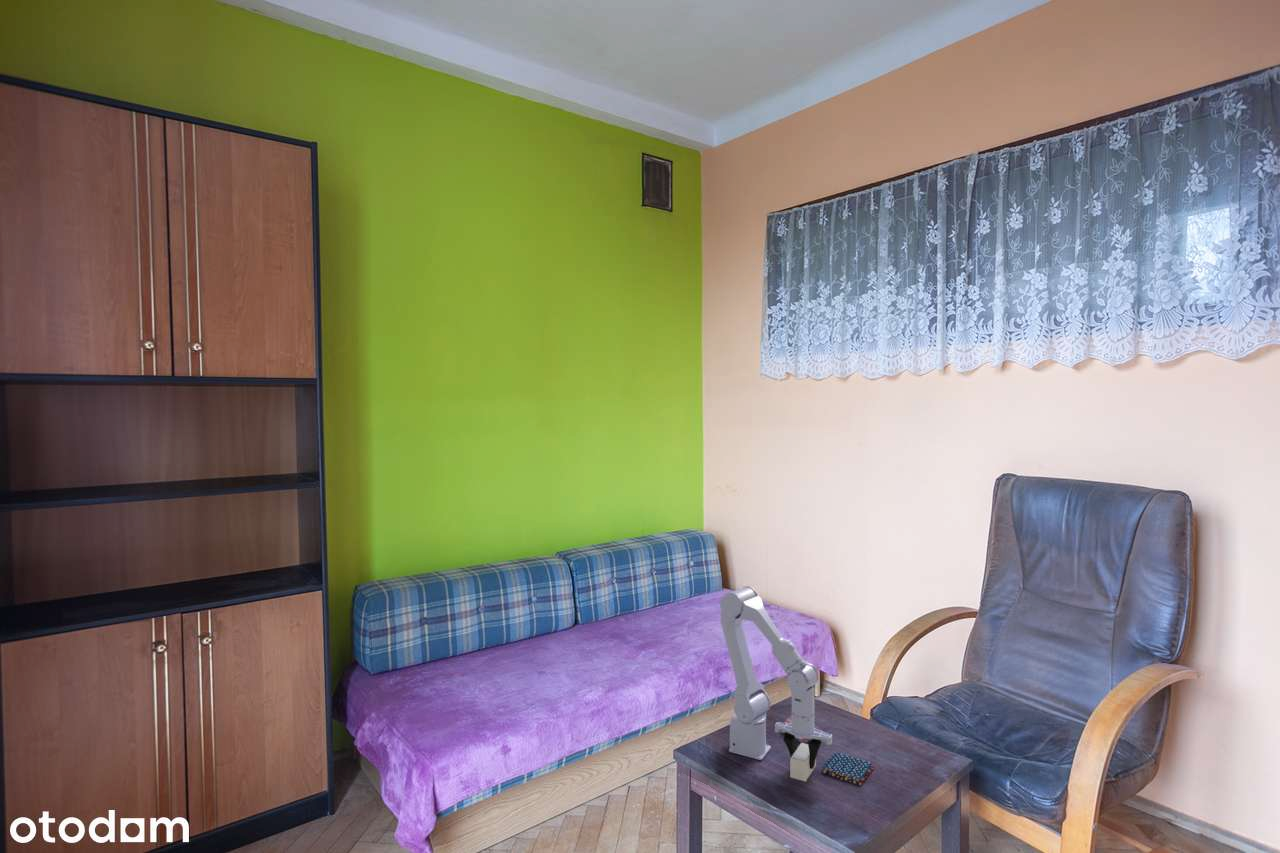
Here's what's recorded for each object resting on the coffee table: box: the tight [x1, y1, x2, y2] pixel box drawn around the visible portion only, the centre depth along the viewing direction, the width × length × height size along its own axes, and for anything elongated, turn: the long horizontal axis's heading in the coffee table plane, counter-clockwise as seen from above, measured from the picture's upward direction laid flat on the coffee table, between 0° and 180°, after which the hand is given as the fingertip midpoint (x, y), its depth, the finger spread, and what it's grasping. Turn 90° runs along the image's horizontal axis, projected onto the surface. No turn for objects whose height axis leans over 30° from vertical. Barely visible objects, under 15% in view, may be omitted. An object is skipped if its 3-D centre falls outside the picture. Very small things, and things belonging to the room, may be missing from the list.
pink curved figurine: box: [784, 715, 820, 744], centre depth 191 cm, size 10×5×7 cm
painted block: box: [789, 743, 817, 782], centre depth 172 cm, size 4×9×5 cm, turn 149°
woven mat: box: [821, 752, 874, 786], centre depth 172 cm, size 10×11×2 cm
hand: (803, 764), depth 172 cm, fingers closed on painted block, 4 cm apart
